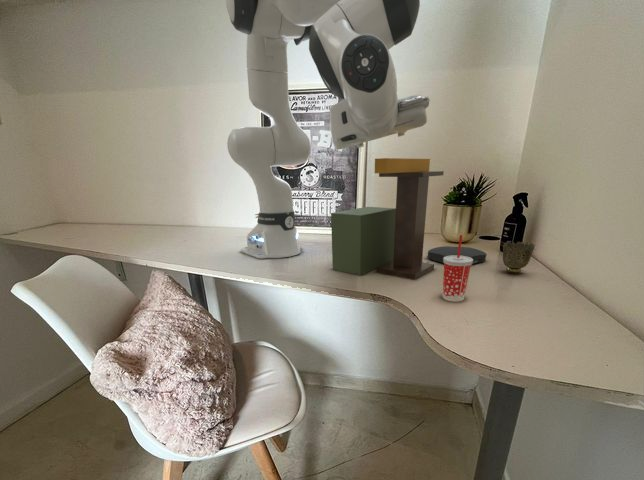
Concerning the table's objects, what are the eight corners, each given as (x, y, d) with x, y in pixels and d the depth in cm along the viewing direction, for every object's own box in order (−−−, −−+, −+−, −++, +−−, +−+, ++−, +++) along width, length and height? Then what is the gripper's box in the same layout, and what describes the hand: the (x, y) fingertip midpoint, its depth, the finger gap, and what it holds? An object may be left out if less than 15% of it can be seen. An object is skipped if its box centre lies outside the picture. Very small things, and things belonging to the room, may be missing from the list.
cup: (501, 267, 96) (506, 239, 93) (530, 271, 92) (536, 242, 89) (495, 274, 91) (500, 244, 87) (525, 278, 87) (532, 247, 84)
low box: (332, 269, 98) (330, 212, 91) (367, 257, 111) (367, 206, 104) (360, 275, 92) (360, 215, 86) (393, 261, 105) (395, 208, 98)
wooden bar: (374, 173, 75) (374, 158, 74) (418, 171, 91) (419, 159, 89) (385, 173, 73) (386, 158, 72) (429, 171, 89) (430, 158, 88)
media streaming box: (422, 257, 108) (422, 248, 107) (454, 252, 114) (455, 243, 113) (457, 268, 96) (458, 258, 95) (490, 261, 103) (492, 251, 102)
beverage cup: (459, 292, 78) (467, 231, 73) (472, 301, 73) (482, 237, 67) (434, 294, 77) (440, 233, 72) (446, 303, 72) (454, 238, 66)
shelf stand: (376, 272, 94) (379, 172, 84) (397, 263, 103) (402, 171, 92) (414, 279, 88) (423, 172, 77) (434, 269, 96) (443, 171, 85)
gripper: (427, 76, 61) (423, 111, 75) (321, 109, 65) (335, 136, 79) (432, 112, 62) (428, 140, 75) (327, 142, 66) (340, 163, 80)
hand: (380, 138), depth 77 cm, fingers open, 8 cm apart
